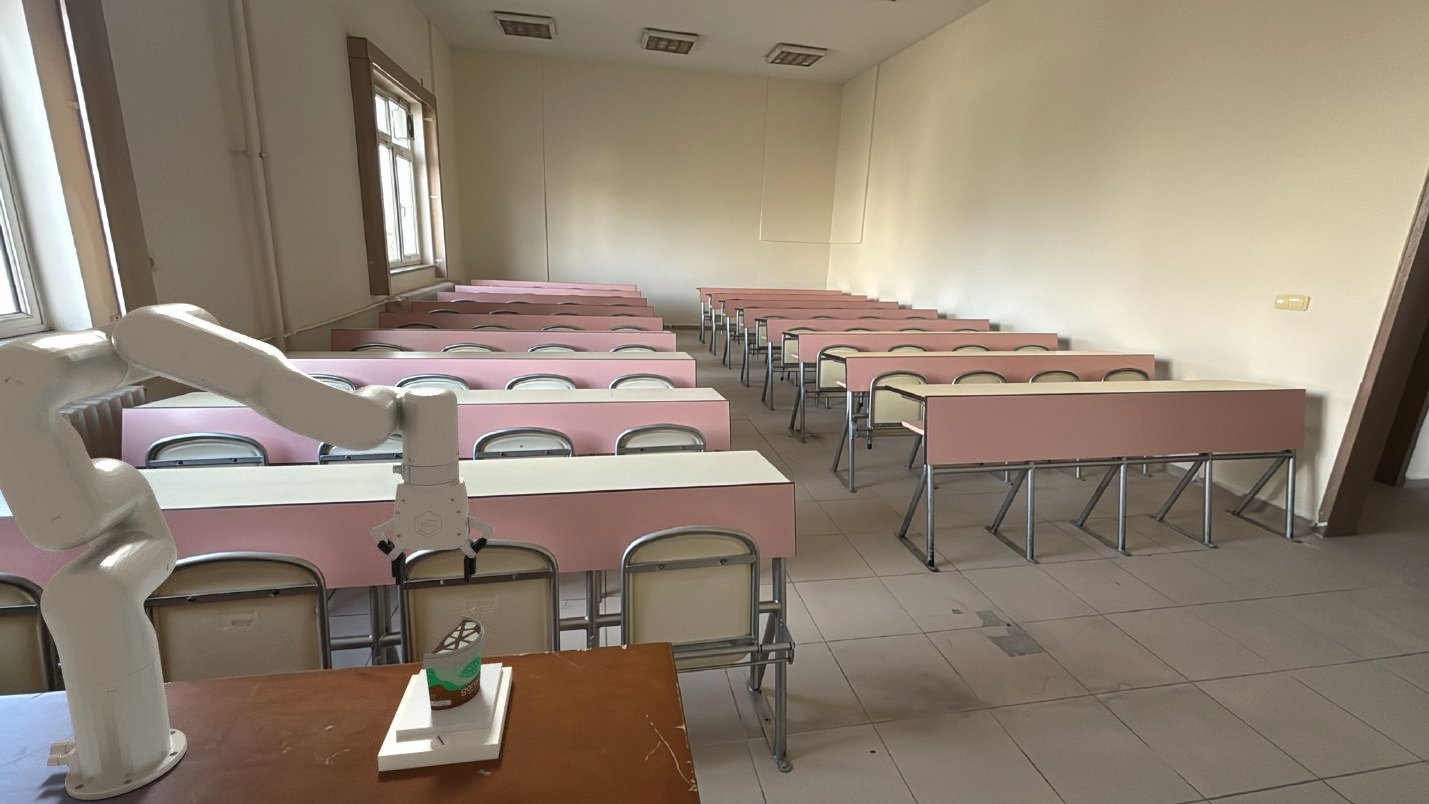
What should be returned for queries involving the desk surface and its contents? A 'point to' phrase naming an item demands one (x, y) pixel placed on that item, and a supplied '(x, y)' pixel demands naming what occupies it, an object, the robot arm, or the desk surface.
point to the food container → (455, 666)
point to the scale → (448, 724)
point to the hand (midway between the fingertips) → (435, 580)
